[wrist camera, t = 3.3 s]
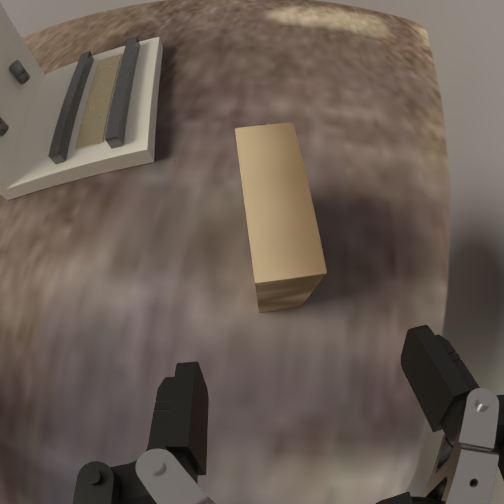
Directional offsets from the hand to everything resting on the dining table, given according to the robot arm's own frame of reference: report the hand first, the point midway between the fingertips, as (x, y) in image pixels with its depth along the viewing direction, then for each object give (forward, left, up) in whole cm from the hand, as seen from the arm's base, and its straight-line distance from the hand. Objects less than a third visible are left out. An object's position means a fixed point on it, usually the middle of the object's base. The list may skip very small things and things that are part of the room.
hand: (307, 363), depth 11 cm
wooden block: (0, +7, -11) cm, 13 cm away
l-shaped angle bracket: (-18, +26, -11) cm, 34 cm away
